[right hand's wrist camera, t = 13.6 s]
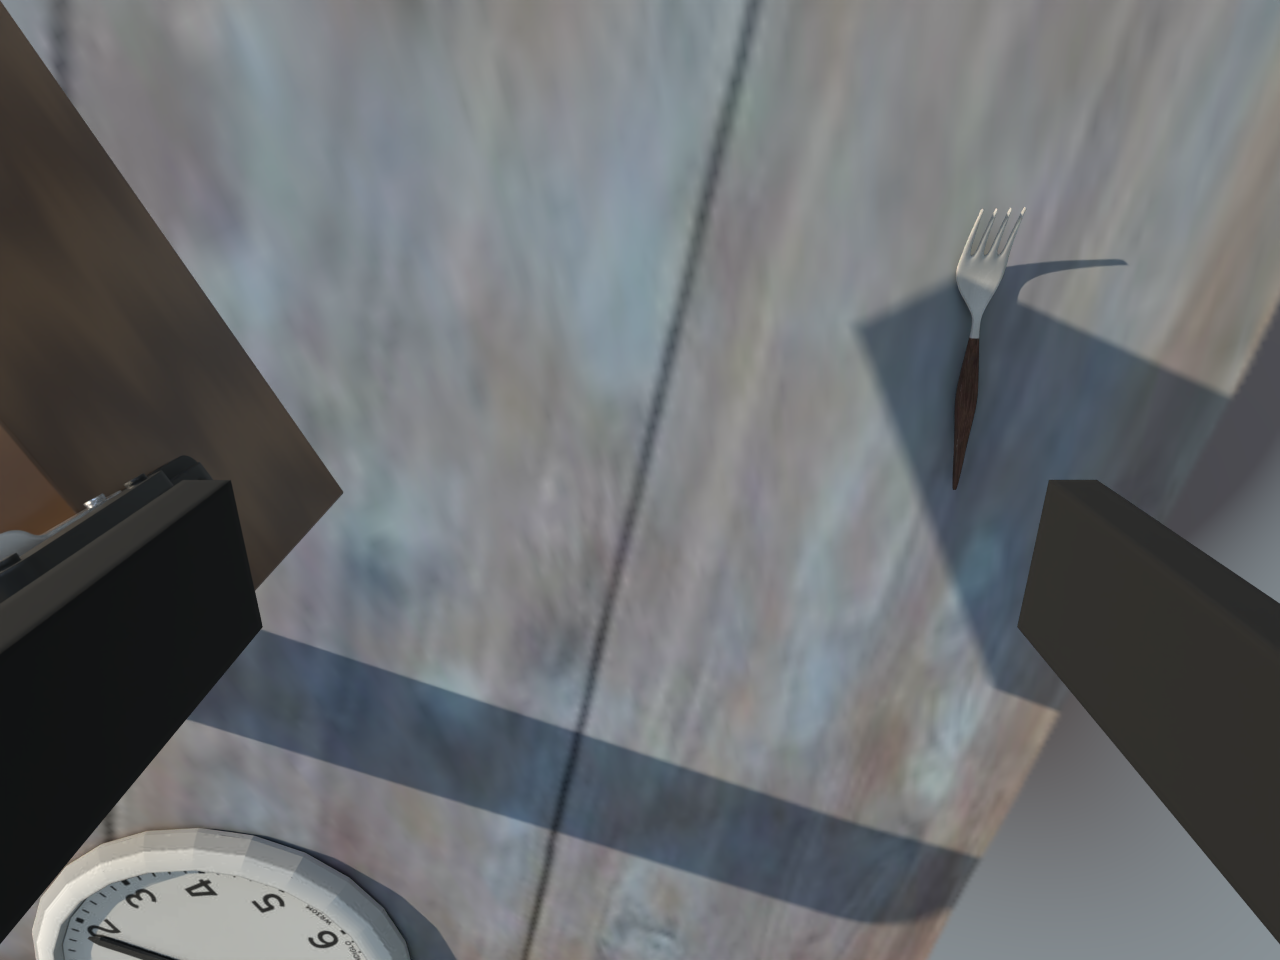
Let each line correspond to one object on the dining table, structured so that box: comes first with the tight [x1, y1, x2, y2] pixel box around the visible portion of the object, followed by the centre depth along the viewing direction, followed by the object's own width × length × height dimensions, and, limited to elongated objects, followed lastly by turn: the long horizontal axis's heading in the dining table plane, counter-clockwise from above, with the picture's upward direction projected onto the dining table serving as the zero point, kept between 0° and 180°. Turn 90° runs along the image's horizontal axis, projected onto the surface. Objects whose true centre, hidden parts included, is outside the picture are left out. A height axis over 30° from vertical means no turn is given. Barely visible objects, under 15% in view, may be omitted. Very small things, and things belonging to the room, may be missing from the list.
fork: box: [953, 207, 1026, 490], centre depth 42 cm, size 3×16×2 cm, turn 2°
